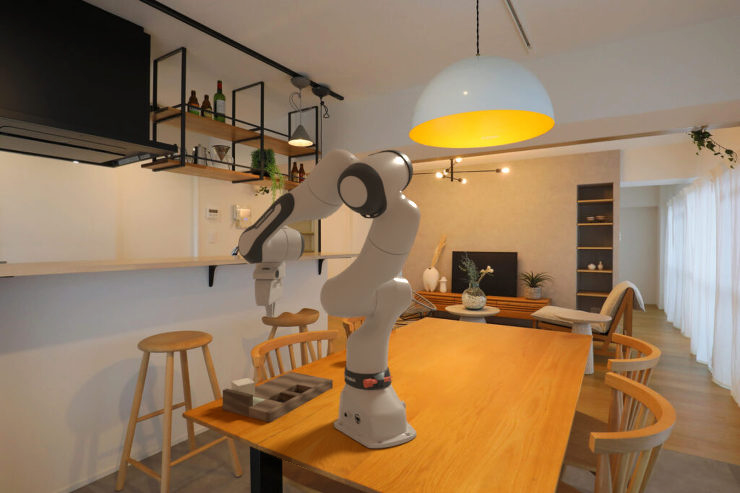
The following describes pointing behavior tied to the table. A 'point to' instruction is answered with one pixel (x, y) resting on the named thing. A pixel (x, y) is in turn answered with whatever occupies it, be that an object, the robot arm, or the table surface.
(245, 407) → the wooden compartment tray
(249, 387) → the block
